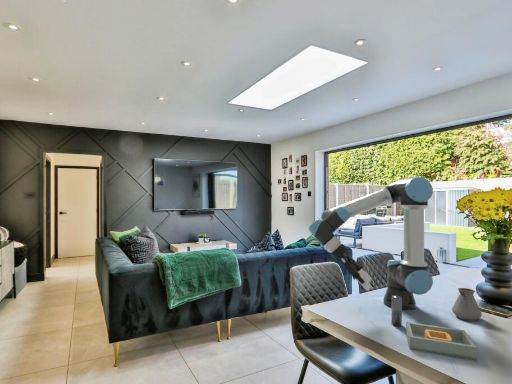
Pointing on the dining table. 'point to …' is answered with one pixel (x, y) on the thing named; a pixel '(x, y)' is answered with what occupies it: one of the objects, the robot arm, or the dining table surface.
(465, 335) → the walled box
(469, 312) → the coffee pot
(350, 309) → the dining table surface
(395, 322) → the peg
